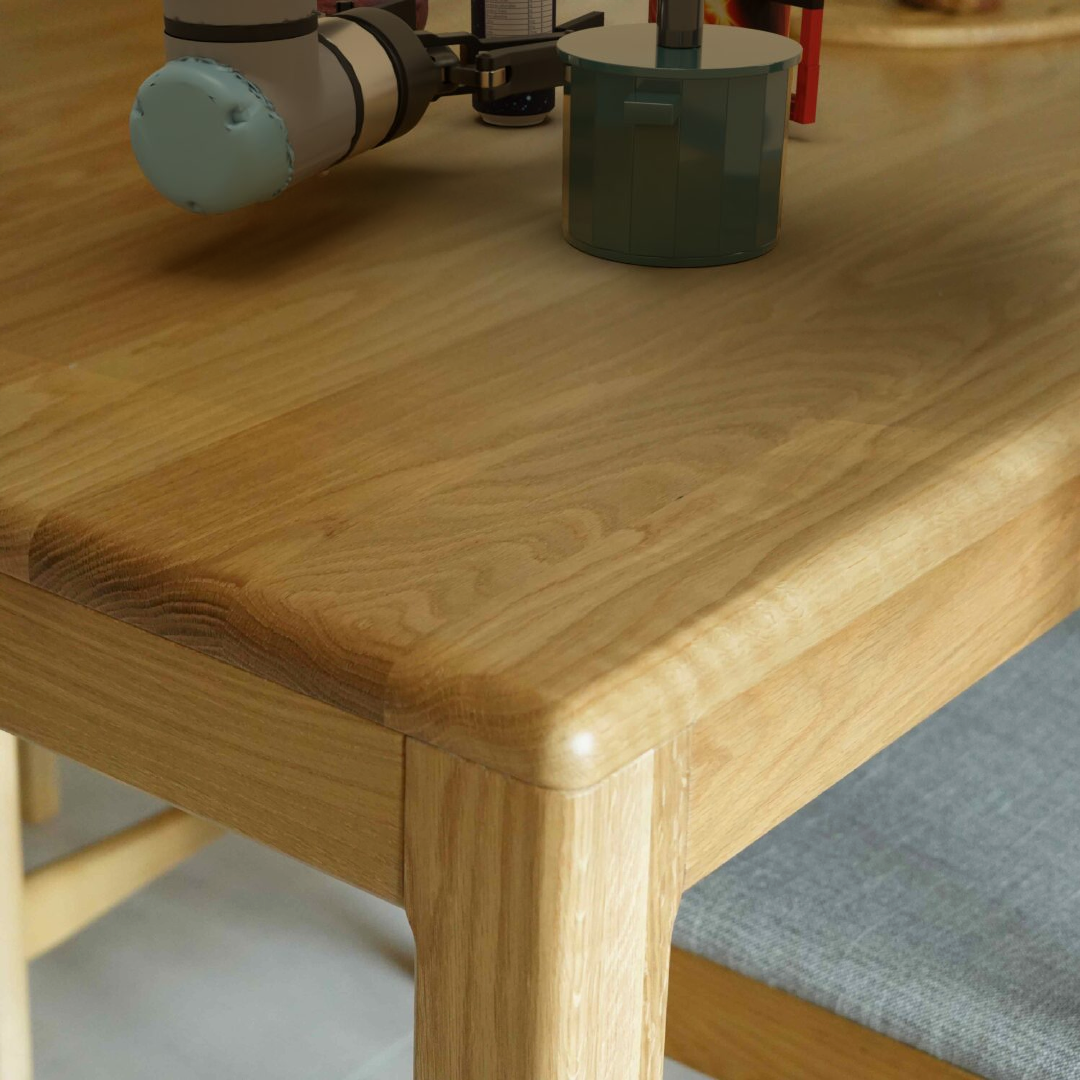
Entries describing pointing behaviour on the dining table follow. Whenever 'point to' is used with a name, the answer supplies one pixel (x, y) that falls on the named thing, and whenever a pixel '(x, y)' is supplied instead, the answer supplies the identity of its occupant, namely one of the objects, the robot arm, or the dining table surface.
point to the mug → (768, 8)
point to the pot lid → (679, 47)
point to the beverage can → (511, 10)
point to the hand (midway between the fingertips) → (503, 24)
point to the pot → (673, 166)
